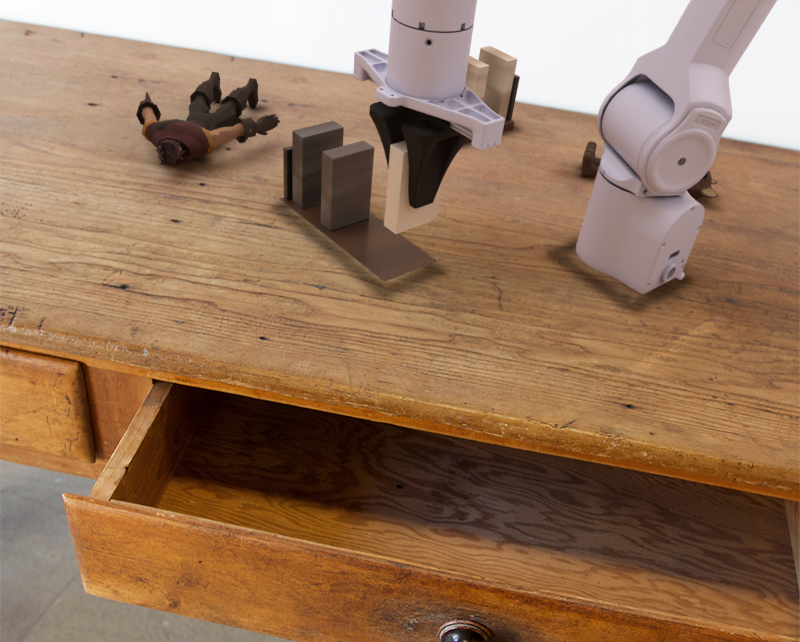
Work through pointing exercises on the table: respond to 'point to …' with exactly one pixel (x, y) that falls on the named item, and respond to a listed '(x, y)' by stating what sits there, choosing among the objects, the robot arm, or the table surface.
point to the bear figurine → (697, 191)
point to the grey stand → (344, 199)
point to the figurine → (204, 122)
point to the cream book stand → (494, 82)
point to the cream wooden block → (404, 195)
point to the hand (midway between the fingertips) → (412, 197)
